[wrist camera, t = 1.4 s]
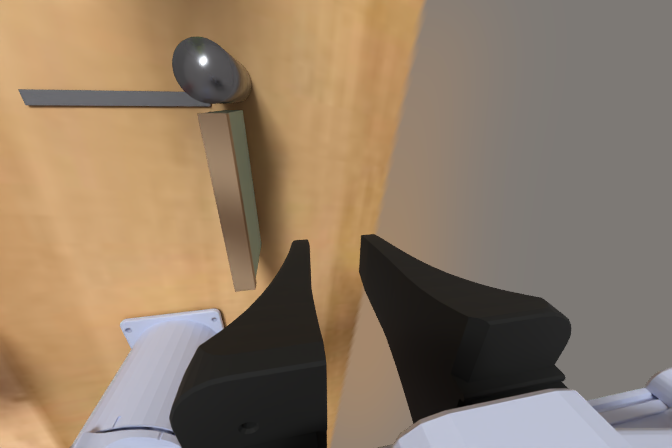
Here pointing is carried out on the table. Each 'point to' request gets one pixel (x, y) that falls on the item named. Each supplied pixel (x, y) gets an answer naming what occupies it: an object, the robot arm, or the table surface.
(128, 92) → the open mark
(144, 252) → the table surface
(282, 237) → the table surface
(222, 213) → the green and brown panel
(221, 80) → the hinge post
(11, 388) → the table surface
